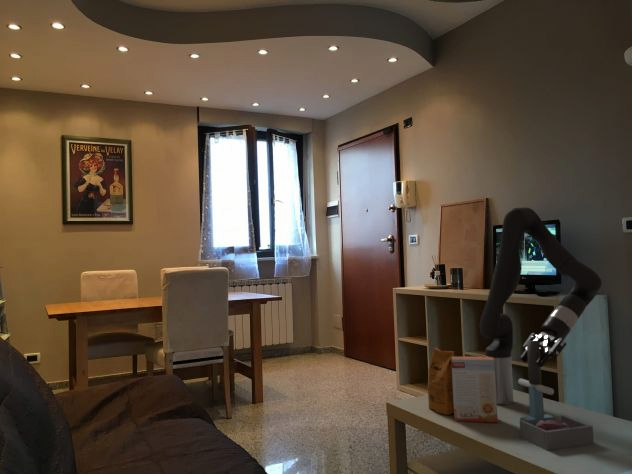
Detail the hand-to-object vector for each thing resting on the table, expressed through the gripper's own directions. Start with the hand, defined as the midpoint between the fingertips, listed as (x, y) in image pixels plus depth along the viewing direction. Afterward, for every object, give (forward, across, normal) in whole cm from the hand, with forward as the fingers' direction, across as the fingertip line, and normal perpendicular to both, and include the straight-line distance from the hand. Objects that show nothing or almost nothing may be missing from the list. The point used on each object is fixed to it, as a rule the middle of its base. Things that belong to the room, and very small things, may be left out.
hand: (530, 362), depth 156 cm
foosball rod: (+14, 0, +16) cm, 22 cm away
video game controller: (+14, +6, +17) cm, 23 cm away
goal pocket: (+14, +8, +16) cm, 23 cm away
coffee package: (+25, -30, +6) cm, 40 cm away
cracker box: (+22, -18, +9) cm, 29 cm away
